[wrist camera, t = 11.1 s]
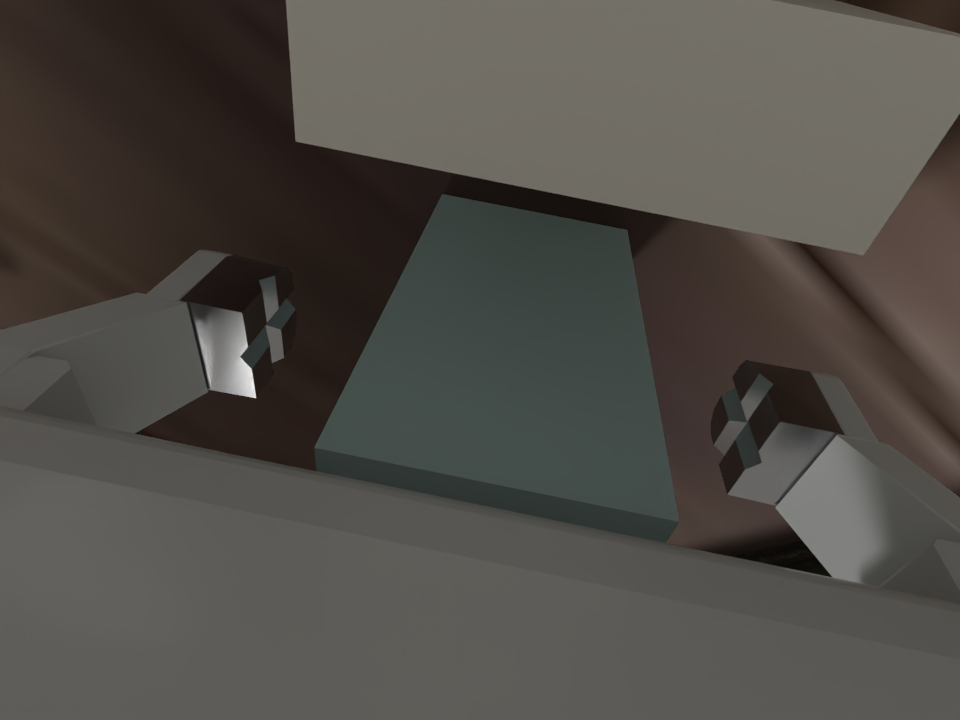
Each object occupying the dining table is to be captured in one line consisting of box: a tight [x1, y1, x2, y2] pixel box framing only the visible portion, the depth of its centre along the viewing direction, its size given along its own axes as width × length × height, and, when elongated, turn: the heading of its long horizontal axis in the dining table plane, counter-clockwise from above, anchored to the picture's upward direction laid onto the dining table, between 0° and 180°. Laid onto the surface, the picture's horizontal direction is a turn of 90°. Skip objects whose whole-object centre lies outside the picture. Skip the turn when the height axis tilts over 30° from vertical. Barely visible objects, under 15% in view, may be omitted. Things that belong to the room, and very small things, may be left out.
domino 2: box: [314, 194, 679, 543], centre depth 10 cm, size 4×1×8 cm, turn 82°
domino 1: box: [286, 0, 960, 255], centre depth 7 cm, size 4×1×8 cm, turn 81°
